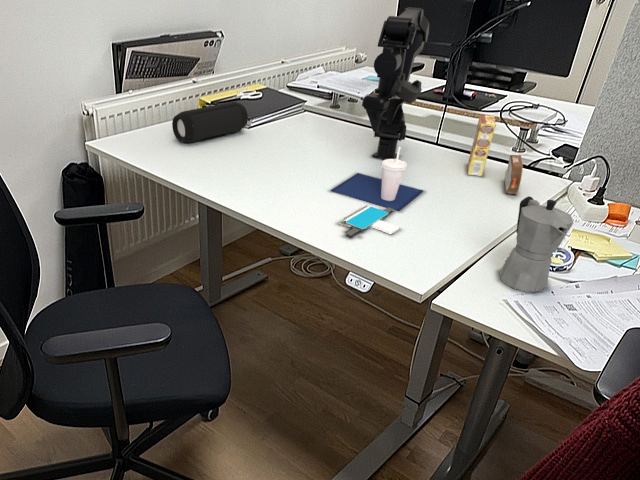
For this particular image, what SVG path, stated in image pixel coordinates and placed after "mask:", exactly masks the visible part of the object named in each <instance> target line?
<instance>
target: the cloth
mask: <svg viewBox="0 0 640 480" xmlns="http://www.w3.org/2000/svg"><path fill="white" fill-rule="evenodd" d="M381 185H382V178H378V177H374V176H370V175H367V174H363V173H361V172H360V173H359V172H357V173H355V174H354V175H352V176H350V177H349V178H348V179H346V180H344V181H343V182H341V183H340V184H338V185H337V186H335V187H333V188H332V189H330V192H333V193H336V194H340V195H343V196H346V197H350V198H353V199H356V200H357V199H358V200H359V201H363V202H367V203H369V204H374V205H377V206H379V207H383V208H388V207H390V209H391V208H393V210H392V211H397V212H400V211H401V210H403V208H405V207H406V206H408V205H409V204H410V203H411V202H413V200H415V199H416V198H417V197H418V196H420V195H421V194H422V193H423V192H424V190H423V189H418V188H415V187H411V186H407V185H403V184H400V185H399V188H398V191H397V194H396V197H395V200H393V201H387V200H383V199H382V198H381Z"/></svg>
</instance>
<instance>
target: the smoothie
mask: <svg viewBox="0 0 640 480" xmlns="http://www.w3.org/2000/svg"><path fill="white" fill-rule="evenodd" d="M397 147H398V148H397V152H396V153H397V157H396V158H395V159H386V160H385V159H382V161H381V164H380V166H381V179H382V185H381V198H382V199H383V200H387V201H393V200H395V197H396V194H397V191H398V188H399V185H401V183H402V179H403V176H404V173H405V171H406V169H407V166H408V165H407V164H408V163H407V162H406V161H404V160H401V159H400V154H401V150H402V149H401V148H402V146H397Z"/></svg>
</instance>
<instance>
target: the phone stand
mask: <svg viewBox="0 0 640 480" xmlns="http://www.w3.org/2000/svg"><path fill="white" fill-rule="evenodd" d="M393 213H394V210H393V208H391V209H390V207H388V208H387V207H385V209H380V208H377V207H374V206H369V207H368V204H367V205H365V206H363V207H361V208H359V209H358V210H356V211H354V212H352V213H351V214H349V215H347V216H345V217H343V219H342V221H341V222H339V225H340V226H342V227H346V228H349V229H348V230H347V231H345V234H346V235H345V237H347V238H349V239H351V238H353V237H355V236H357V235H359V234H360V233H362V232H363V231H366V230H368V229H370V228H372V229H375V230H378V231H380V232H384V233H386V234H389V235H392V234H394V233H395V232H397V231H398V230H399V229H400V227H399V226H398V225H395V224H392V223H390V222H387V221H384V218H386V217H387V216H389V215H390V214H393Z"/></svg>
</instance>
